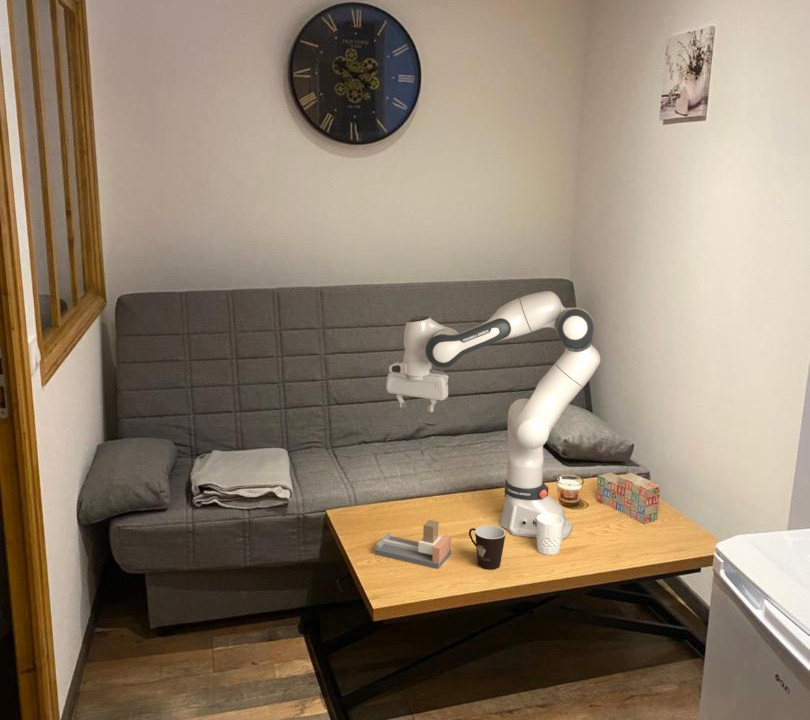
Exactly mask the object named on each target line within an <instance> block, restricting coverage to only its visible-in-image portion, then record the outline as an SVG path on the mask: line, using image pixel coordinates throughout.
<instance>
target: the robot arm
mask: <svg viewBox="0 0 810 720" xmlns="http://www.w3.org/2000/svg"><path fill="white" fill-rule="evenodd" d="M562 303H563V302H562V301H561V299H560V298H559V296H558V295H557V294H556V293H555V292H553V291H550V290H545V291H540V292H539V291H538V292H534V293H532V294H531V293H530V294H528V295H523V296H521V297H518V298H516V299H513V300H512V301H509V302H507V303H505V304H504V305H503V306H500V307H499V308H497V310H496V311H495V313H494V314H493V315H492V316H491V317H490V318H488V319H487V320H486V321H485V322H483V323H481V324H480V325H477V326H475V327H472V328H470V329H468V330H465V331H462V332H459V331H458V330H457V329H455V328H453V327H448V326H445V325H443V324H440V323H439V322H437V321H435V320H433V319H432V317H430V316H426V315H421V316H415V317H412V318H410V319H409V320H408V321H407V322H406V323H405V326H404V333H403V334H404V335H403V336H404V338H403V347H404V354H403V360H400V361H396V362H394V363H391V365H389V366H388V371H389V373H388V374H387V376H386V384H385V389H386V391H387V393H388V394H395V395H396V398H397V400H398V403H399V407H400V409H406V408H407V401H404V398H403V397H404V396H408V397H414V398H421V399H428V400H430V403H431V404H430V405H429V404H428V406H427V407H426V412H428V413H434V410H435V409H434V408H435V406H436V403H437V402H438V401H442V402H443V401H444V400H446V399H447V398H448V397H449V375H448V374H447V373H446V372H445V371H444V370H437V369H433V368H432V367H433V366H434V367H437V368H440V369H445V368H450V367H452V366H453V365H455V363H457V361H459V360H460V359H461V358H462V357H463V356H464V355H466V354H469V353H471V352H474V351H476V350H479V349H481V348H484V347H486V346H489V345H491V344H494V343H496V342H497V343H498V342H500V341H504V340H508V339H512V338H516V337H521V336H523V335H527V334H530V333H533V332H535V331H537V330H542V329H545V328H547V329H548V328H551V329H553V330H555V331H556V334H557V336H558V337H559V339H560V340H561V342H562V343H563V345H564V346H565V349H564V352H563V353H562V354H561V356H560V357H559V358H558V359H557V360H556V362H555V363H554V364H553V365H552V366H551V368H549V370H548V371H547V372H546V373H545V375H543V377H542V378H541V379H540V380H539V381H538V383H537V385H536V387H535V389H534V392H533V393H532V394H531V396H530V398H519V399H517V400H515V401H513V403H511V404H510V407H509V408H508V412H507V469H506V470H507V472H506V479H505V483H504V504H503V509H502V512H501V515H500V519H499V524H500V525H501V527H503V529H506V530H507V531H508V532H509V533H510V535H512V536H516V537H517V536H518V537H525V538H527V537H528V538H535V539H537V537H536V526H537V516H538V515H540V514H544V513H552V514H556V515H559V516H561V517H562V518H563V519H564V524H563V532H562V540H564V539H566V538H567V537H568V536H570V534H571V533H572V530H573V523H572V522H571V521H570V520H569V519H566V515H565V509H564V507H563V506H562V505H561V504H560V503H559V502H557V501H556V499H553V497H551V496H550V494H549V488H550V484H549V483H548V484H547V485H546V484H545V482H544V481H543V477H544V462H545V459H544V458H545V457H544V445H545V444H546V443H547V441H548V439H549V436H550V434H551V432H552V430H553V429H554V428H555V426H556V424H557V423H558V421H559V419H560V417H561V416H562V414H563V413H564V411H565V409H566V408H567V407H568V406H569V405H570V403H571V402H572V401H573V400H574V398H575V397H576V396H577V395H578V393H580V391H581V390H582V389H583V388H584V387H585V386H586V384H587V383H588V382H589V381H590V379H592V377H593V375H594V374H595V373H596V370H597V369H598V368H599V366H600V363H601V355H600V353H599V351H598V349H596V347H595V346H594V345H592V340H593V335H594V329H595V325H594V319H593V318H592V316H591V314H590V313H589V312H588V311H586V309H583V308H580V307H575V306H574V307H573V306H566V305H563V304H562ZM432 365H433V366H432Z"/></svg>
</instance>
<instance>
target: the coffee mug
mask: <svg viewBox="0 0 810 720" xmlns="http://www.w3.org/2000/svg"><path fill="white" fill-rule="evenodd" d="M472 531H473V532H474V535H475V536H474V537H475V540H474V538H473V536H472ZM506 535H507V534H506V530H505V528H502V527H500V526H496V525H491V524H490V525H481V526H478V527H476V528H474V527H472V528H470V529H469V530H468V536H469V539H470V540H471V542H472V543H473V545H474V546H475V547H476V549H475V550H476V558H477V559H476V560H477V566H478V567H480V569H483V570H487V571H494V570H497V569H500V566H501V562H502V557H503V553H504V551H503V550H504V546H505V540H506Z"/></svg>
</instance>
